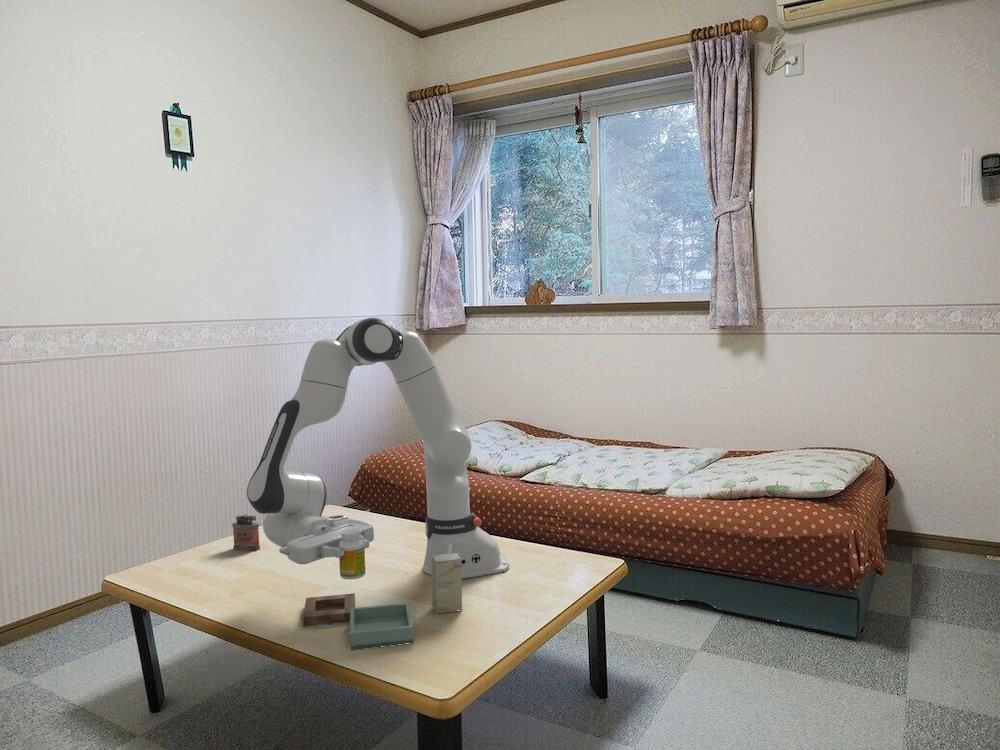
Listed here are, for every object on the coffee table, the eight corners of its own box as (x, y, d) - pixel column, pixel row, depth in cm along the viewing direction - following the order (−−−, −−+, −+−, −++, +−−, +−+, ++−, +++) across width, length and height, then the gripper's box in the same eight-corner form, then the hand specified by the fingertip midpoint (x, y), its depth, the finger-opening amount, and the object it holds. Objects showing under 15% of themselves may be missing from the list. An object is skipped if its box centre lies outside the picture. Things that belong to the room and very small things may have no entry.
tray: (409, 617, 159) (408, 602, 159) (414, 643, 147) (413, 626, 147) (351, 623, 157) (350, 608, 157) (350, 650, 145) (350, 633, 144)
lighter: (231, 550, 208) (229, 516, 207) (238, 546, 211) (236, 512, 210) (256, 551, 206) (254, 517, 205) (262, 547, 209) (260, 514, 208)
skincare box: (435, 614, 161) (434, 561, 160) (431, 607, 165) (430, 555, 164) (463, 610, 162) (461, 558, 161) (458, 603, 167) (457, 552, 166)
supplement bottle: (359, 580, 153) (357, 536, 152) (335, 579, 154) (333, 535, 153) (369, 571, 158) (367, 528, 157) (346, 570, 160) (344, 527, 159)
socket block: (355, 601, 169) (354, 593, 169) (355, 621, 158) (354, 612, 158) (306, 606, 167) (306, 597, 167) (303, 626, 156) (302, 617, 156)
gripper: (274, 535, 156) (313, 547, 147) (349, 513, 171) (389, 523, 163) (275, 563, 156) (314, 578, 148) (350, 538, 172) (390, 550, 163)
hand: (354, 548), depth 155 cm, fingers closed on supplement bottle, 5 cm apart
